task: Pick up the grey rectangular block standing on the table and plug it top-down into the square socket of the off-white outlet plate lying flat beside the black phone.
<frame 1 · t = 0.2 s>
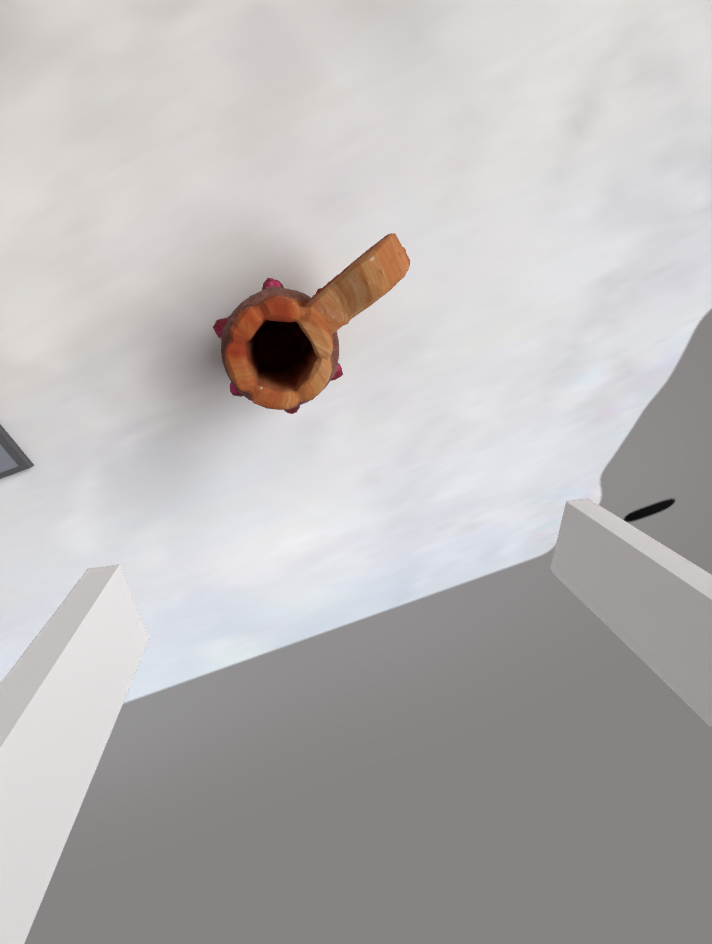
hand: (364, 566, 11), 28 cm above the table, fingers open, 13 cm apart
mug: (304, 320, 33), on the table
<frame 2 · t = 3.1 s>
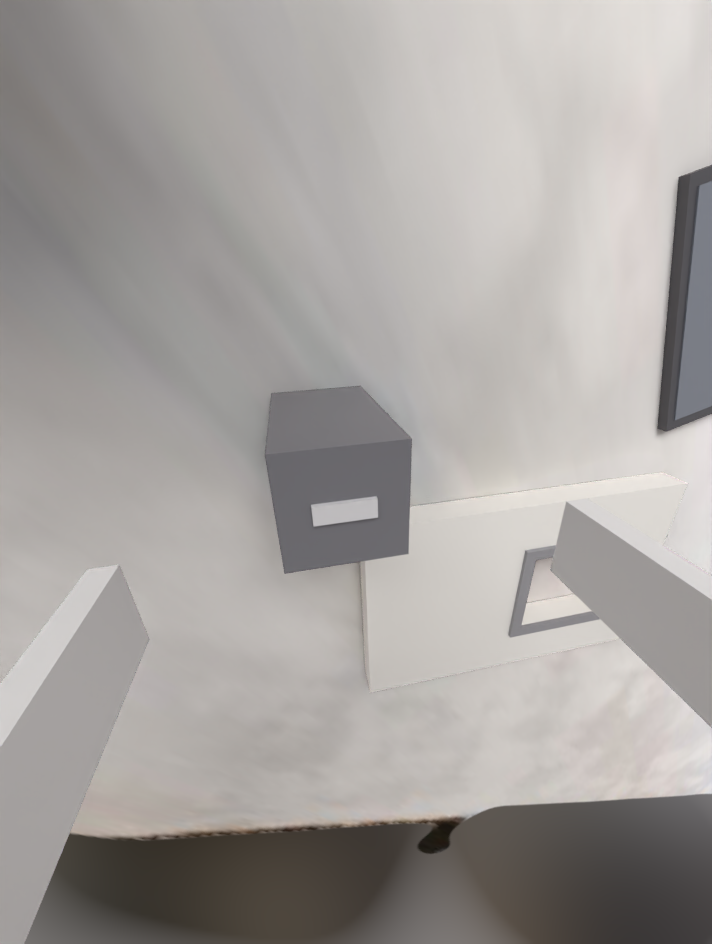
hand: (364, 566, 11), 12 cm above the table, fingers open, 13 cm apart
grey rectangular block: (320, 431, 21), on the table
outlet plate: (505, 576, 29), on the table
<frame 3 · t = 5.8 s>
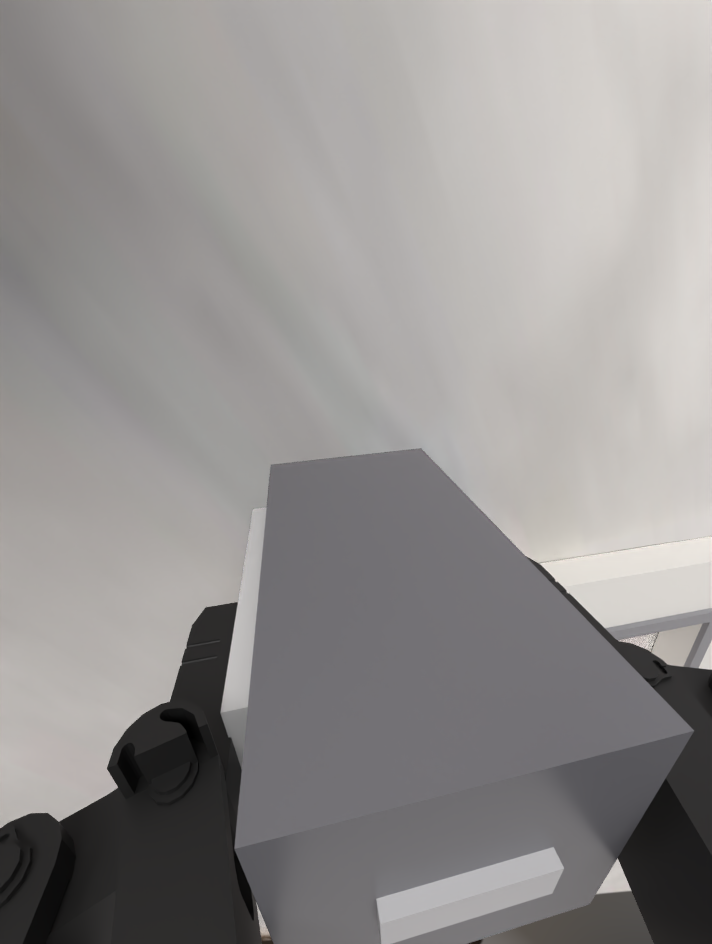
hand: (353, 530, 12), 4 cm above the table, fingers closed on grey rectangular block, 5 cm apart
grey rectangular block: (351, 520, 13), point 4 cm above the table, touching gripper
outlet plate: (561, 653, 24), on the table
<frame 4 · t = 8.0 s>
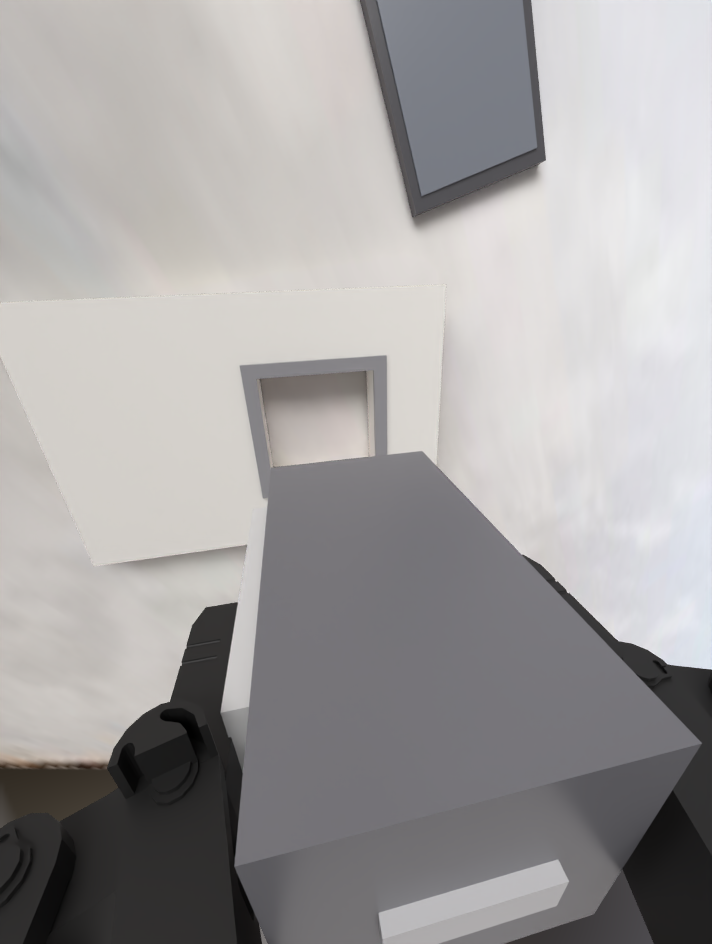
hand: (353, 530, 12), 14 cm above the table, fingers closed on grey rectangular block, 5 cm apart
phone: (440, 19, 18), on the table
grey rectangular block: (352, 523, 13), point 13 cm above the table, touching gripper
outlet plate: (259, 426, 24), on the table
when the fingers open (3 cm above the table, at t = 10.5 s): grey rectangular block drops 2 cm, resting in outlet plate.
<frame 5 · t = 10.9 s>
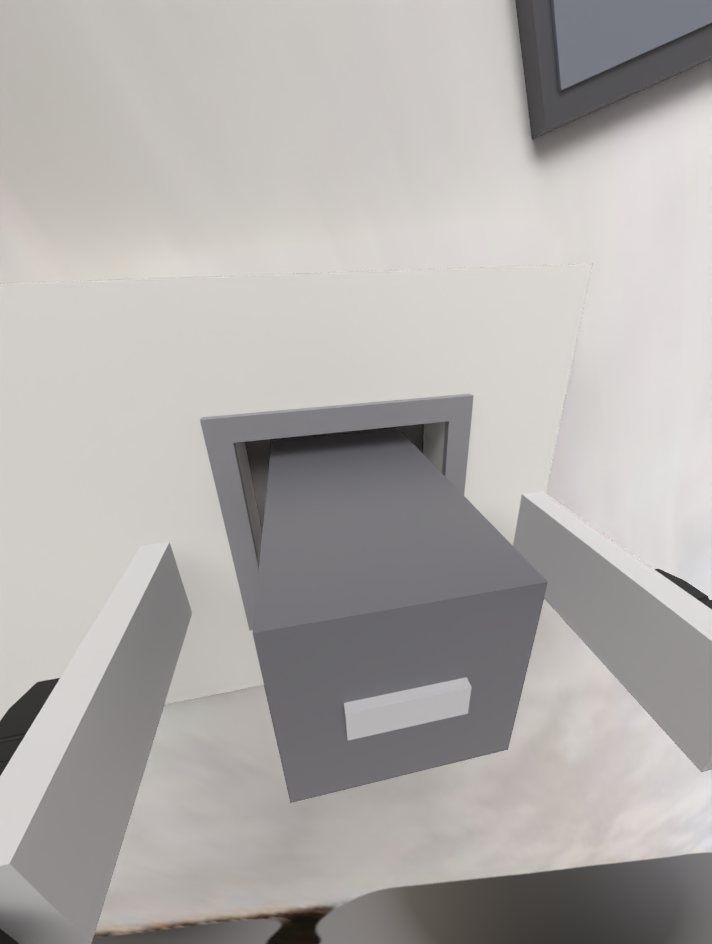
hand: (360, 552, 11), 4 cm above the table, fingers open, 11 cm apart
grey rectangular block: (340, 491, 15), resting in outlet plate
outlet plate: (244, 506, 14), on the table
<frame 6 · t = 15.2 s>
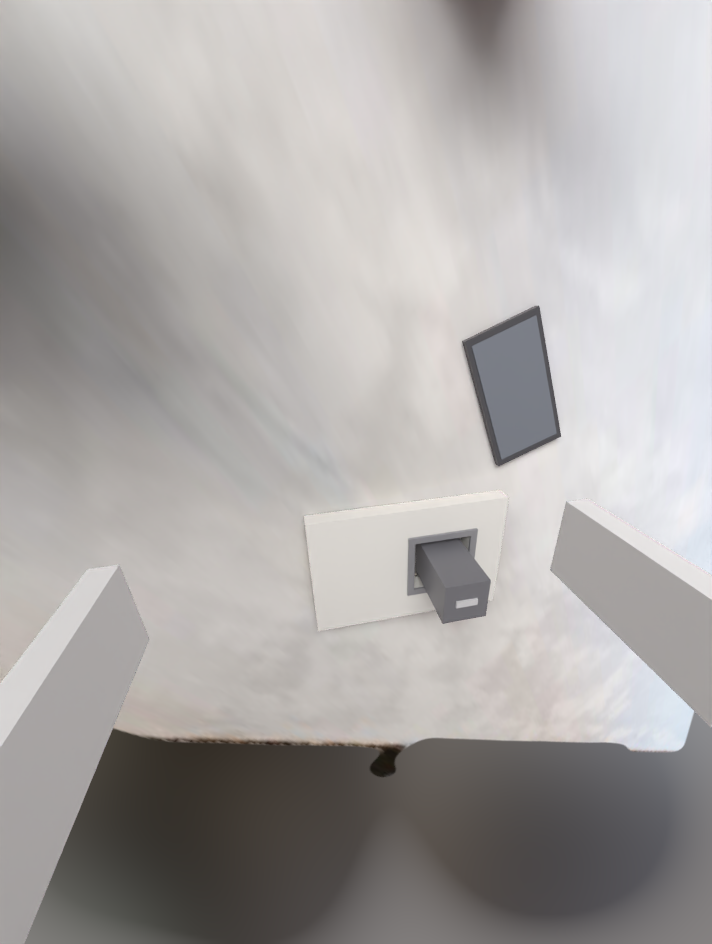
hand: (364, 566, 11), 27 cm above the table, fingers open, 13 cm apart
phone: (510, 390, 39), on the table
grey rectangular block: (434, 551, 46), resting in outlet plate
outlet plate: (405, 556, 45), on the table
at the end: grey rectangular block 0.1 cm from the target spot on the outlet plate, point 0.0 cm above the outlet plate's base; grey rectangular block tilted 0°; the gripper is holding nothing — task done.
